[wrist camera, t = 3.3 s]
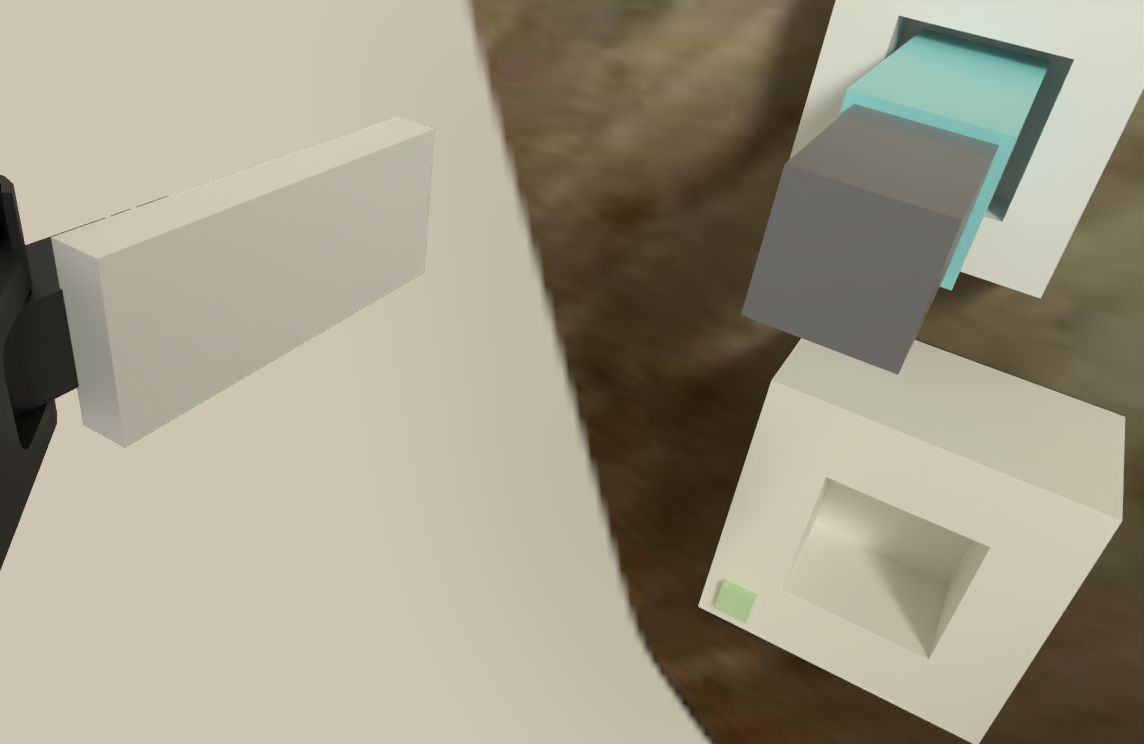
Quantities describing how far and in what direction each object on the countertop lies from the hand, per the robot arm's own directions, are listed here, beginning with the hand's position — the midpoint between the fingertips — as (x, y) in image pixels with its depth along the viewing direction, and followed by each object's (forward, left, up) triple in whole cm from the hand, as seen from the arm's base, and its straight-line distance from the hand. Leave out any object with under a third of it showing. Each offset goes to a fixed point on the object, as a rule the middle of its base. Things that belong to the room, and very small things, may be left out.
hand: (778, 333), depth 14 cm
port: (+13, +3, -18) cm, 22 cm away
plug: (0, 0, -17) cm, 17 cm away
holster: (0, 0, -18) cm, 18 cm away
